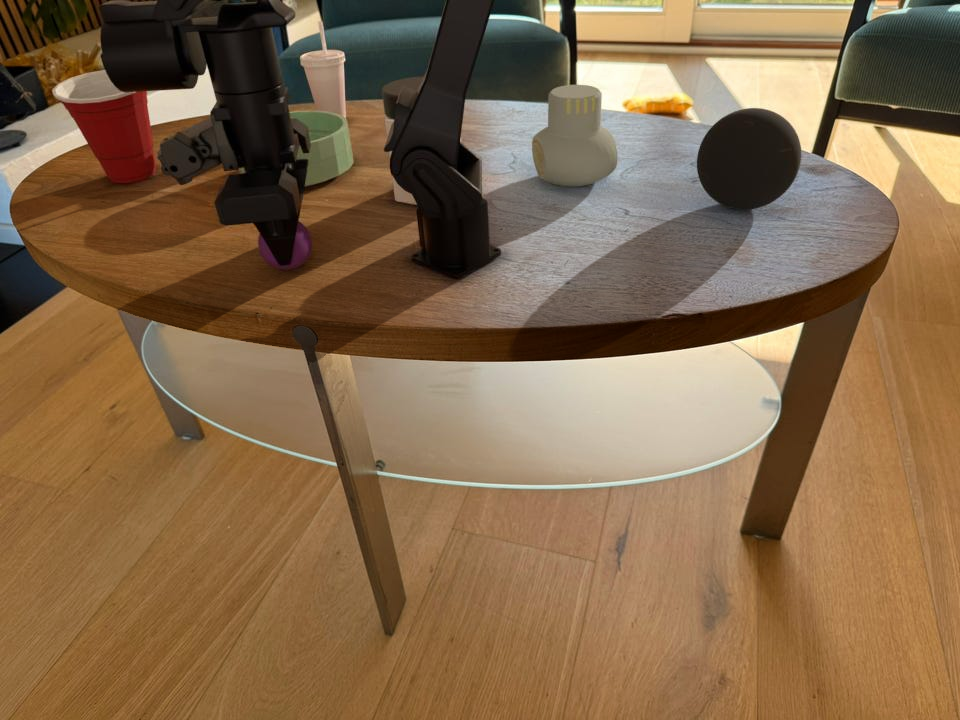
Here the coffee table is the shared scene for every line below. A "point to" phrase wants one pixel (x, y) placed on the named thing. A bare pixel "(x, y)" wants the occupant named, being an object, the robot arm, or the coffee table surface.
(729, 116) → the speaker
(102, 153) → the plastic cup
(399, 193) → the jar
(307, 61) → the smoothie
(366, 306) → the coffee table surface
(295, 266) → the ball
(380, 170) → the coffee table surface
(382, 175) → the coffee table surface
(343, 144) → the bowl
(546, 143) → the air freshener
